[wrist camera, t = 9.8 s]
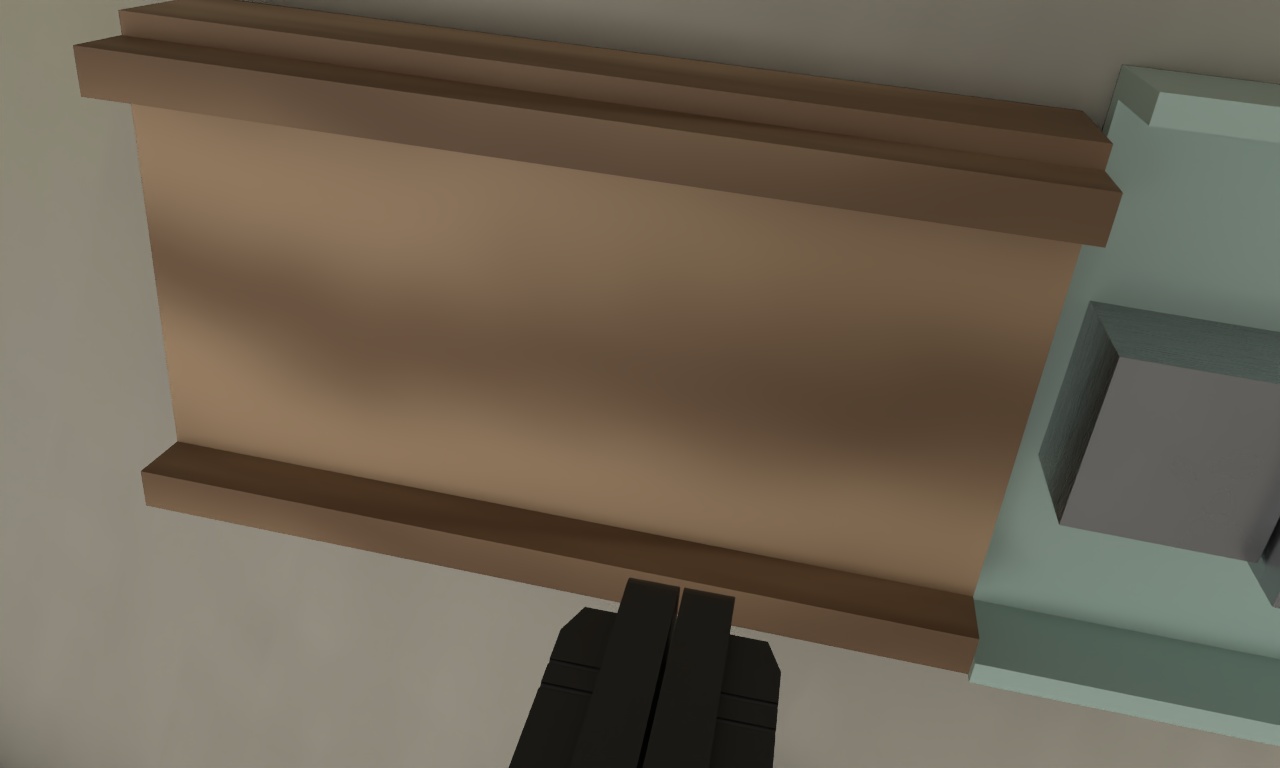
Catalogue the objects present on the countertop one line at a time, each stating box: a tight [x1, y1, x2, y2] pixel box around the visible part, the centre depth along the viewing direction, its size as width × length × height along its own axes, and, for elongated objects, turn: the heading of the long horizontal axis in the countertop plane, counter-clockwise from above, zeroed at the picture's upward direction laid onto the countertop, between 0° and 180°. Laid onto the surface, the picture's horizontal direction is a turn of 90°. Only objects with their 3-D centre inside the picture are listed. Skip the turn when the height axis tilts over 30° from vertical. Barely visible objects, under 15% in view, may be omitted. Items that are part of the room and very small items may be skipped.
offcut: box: [1038, 301, 1280, 563], centre depth 22 cm, size 4×4×3 cm
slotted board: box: [73, 0, 1123, 674], centre depth 23 cm, size 12×20×4 cm, turn 85°
